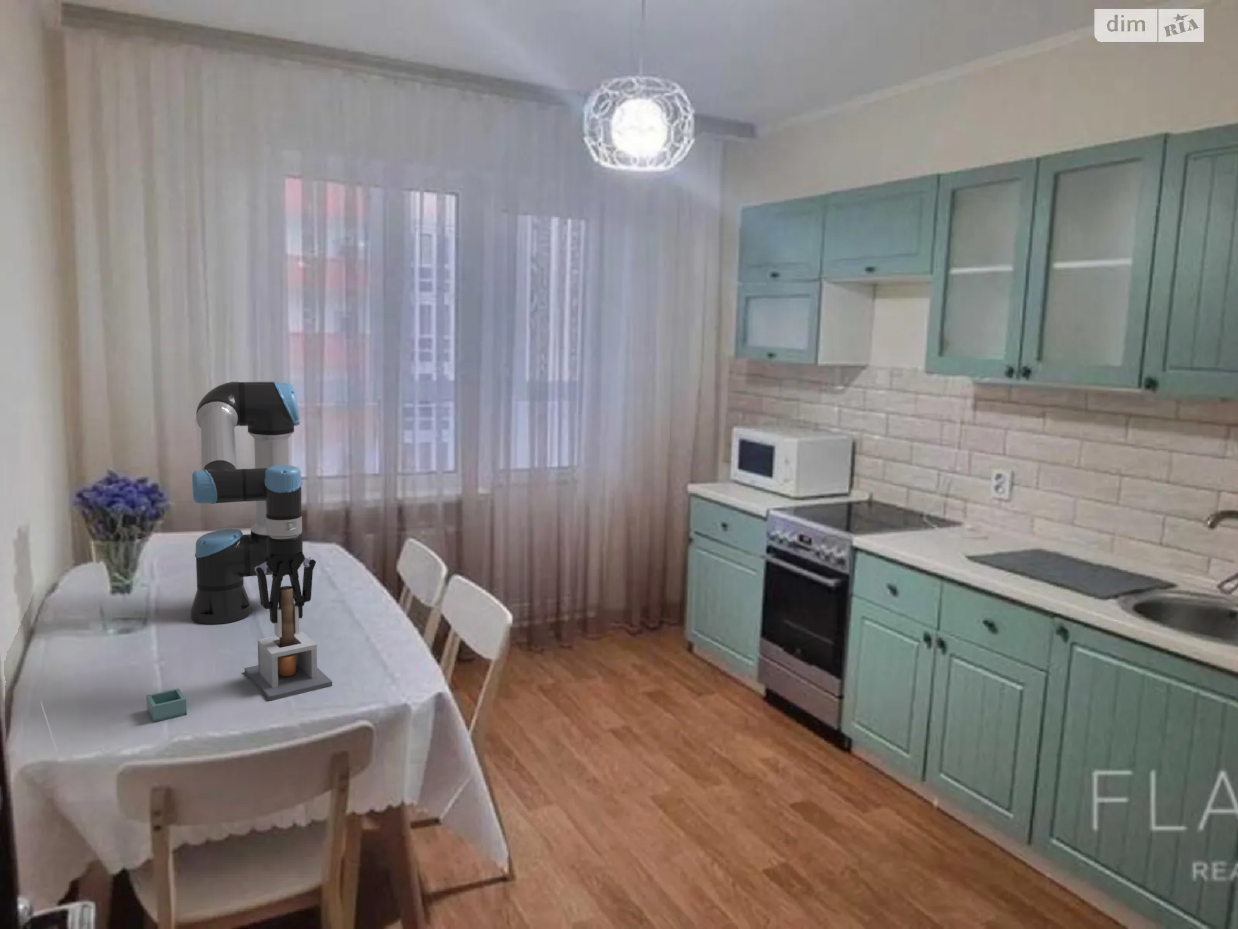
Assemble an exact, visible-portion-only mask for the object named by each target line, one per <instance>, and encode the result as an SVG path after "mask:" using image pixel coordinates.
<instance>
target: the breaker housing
mask: <svg viewBox="0 0 1238 929" xmlns="http://www.w3.org/2000/svg"><path fill="white" fill-rule="evenodd" d="M294 637H295V645H291V646H287V647H282V648H280V638H278V637H277V636H276V635H275V636H269V637H268V636H267V637H265V638H257V658H258V659H257V660H258V662H257V663H258V664H256V665H253V666H248V667H244V673H245V674H246V676H247V677H248V678H249V680H251V681H252V683H253V684H254V685H255V686H256V688H257V689H259V691H260V692H261V693H262V694H263V695H264V697H265V698H266V699H267V700H268V701H270V702H271V701H275V700H278V699H283V698H287V697H291V696H295V695H299V694H305V693H307V692H311V691H312V692H313V691H315V690H320V689H324V688H327V687H329V688H330V687H332V686H333V680H331V678H329V677H328V676H327V675H326V674H325V673H324V672H323V671H322V670H321V669H320V668H318V656H317V655H318V653H317V650H318V648H317V643H315V642H314V641H313V640H312V639H311V638H310V637H309V636H308V635H307V634H305V633H304V632H303V631H302V630H299V634H295V633H294ZM294 653H296V671H297V672H296V674H294V675H291V676H281V675H279V657H280V656H285V655H290V654H294Z"/></svg>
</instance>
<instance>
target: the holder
mask: <svg viewBox="0 0 1238 929" xmlns="http://www.w3.org/2000/svg"><path fill="white" fill-rule="evenodd" d="M146 711H147V713H148V714H149V717H150V718H151V720H152V722H153V723H158V722H161V721H165V720H170V719H176V718H178V717H183V716H187V715H188V714H187V698H186V697H185V695H184V694H183V692H182V690H181V689H180V688H179V687H178V688H174V689H169V690H165V691H161V692H156V693H150V694H146Z"/></svg>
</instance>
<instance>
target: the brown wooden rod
mask: <svg viewBox="0 0 1238 929" xmlns="http://www.w3.org/2000/svg"><path fill="white" fill-rule="evenodd" d="M294 603H295V601H294V591H293V587H292V586H291V585H284V586H283V585H281V589H280V596H279V603H278V607H279V608H280V609H281V617H282V637H280V648H282V647H287V646H291V645H295V637H294ZM294 655H295V653H294V654H290V655H285V656H281V657H291V656H294Z"/></svg>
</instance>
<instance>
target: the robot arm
mask: <svg viewBox="0 0 1238 929" xmlns="http://www.w3.org/2000/svg"><path fill="white" fill-rule="evenodd" d="M195 415H196V417H195V421H196V423H197V426H198V428H200V438H201V439H200V444H201V445H200V446H201V448H200V452H201V469H200V470H195V471H194V472H192V476H191V484H192V498H193V499H192V500H193V501H194V503H197V504H212V505H213V504H223V503H238V502H239V503H240V502H255V510H256V513H255V514H256V515H255V517H256V518H255V519H256V521H255V523H254V524H253V525H252V526H251V527H250V533H249V534H243V532H242V530H241V529H239V528H225V529H219V530H215V531H211V532H207V533H205V534H202V535H201V536H200V537H199V538H197V540H196V542H195V553H194V557H195V564H196V565H195V566H196V567H195V568H196V592H195V595H194V599H193V601H192V604H191V608H190V618H191V621H193V622H196V623H199V624H203V625H204V624H205V625H207V624H208V625H217V624H218V625H219V624H221V625H222V624H228V623H233V622H237V621H240V620H243V619H246V618H248V617H249V616H250V615H251V614H252V602H251V600H250V598H249V596H248V593H247V590H246V588H245V585H244V578H247V577H257V584H258V594H259V602H260V606H261V607H262V608H264V609H265V610H269V620H270V622H271V623H272V624H273V625H274V635H275V636H277V637H278V638H280V637H282V617H281V609H280V608H279V596H280V589H281V587H282V582H283V580H284V577H285V576H289V580H290V586H292V587H293V591H294V633H295V634H299V631H300V628H299V624H300V621H299V620H300V619H302V618H303V616H304V615H303V607H304V606H305V603H308V602H311V600H312V589H313V574H314V572H313V571H314V568H315V566H316V563H317V561H316V559H314V558H312V557H306V556H305V555H304V552H303V551H304V550H303V548H304V546H303V535H302V532H303V514H302V485H303V480H302V474H301V473H302V472H301V469H300V468H299V467H298V466H294V465H289V464H290V463H289V462H290V461H289V460H290V459H289V452H290V451H289V438H290V437H291V436H292V435H293V434H294V433H295V427H296V426H299V425H300V423H301V420H300V411H299V405H298V398H297V394H296V391H295V388H294V385H293V384H291V383H290V382H282V381H281V382H280V381H243V382H242V381H230V382H225V383H222V384H220V385H218V386H215V387H214V388H212V389H211V390H210V391H208V392H207V393H206V394H205V395H204V396H203V397H202V399H201V400H200V402H199V403H198V405H197V408H196V413H195ZM235 427H247V434H249V435H250V436H251V437H252V438H253V439H254V440H253V442H254V446H253V447H254V468H238V463H237V461H238V460H237V451H236V450H237V449H236V436H235ZM302 565H303V567H304V568H303V574H302V575H303V577H302V590H301V585H300V579H299V572H298V571H299V569H300V568H301V566H302ZM267 576H271V577H272V581H271V586H270V587H271V589H270V595H269V591H268V582H267V581H268V580H267Z"/></svg>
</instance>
